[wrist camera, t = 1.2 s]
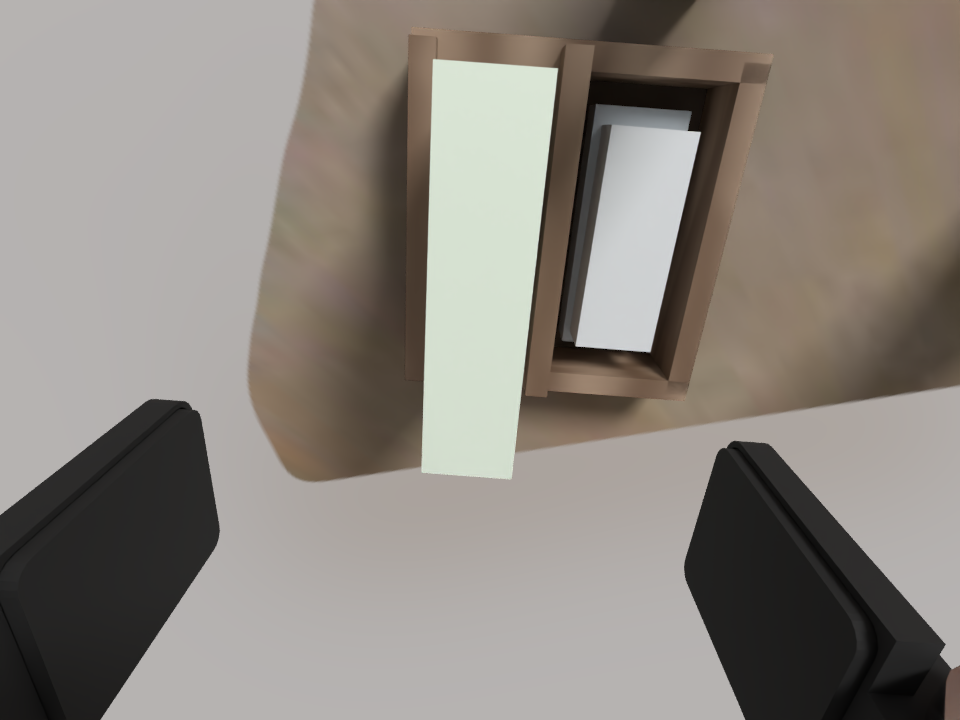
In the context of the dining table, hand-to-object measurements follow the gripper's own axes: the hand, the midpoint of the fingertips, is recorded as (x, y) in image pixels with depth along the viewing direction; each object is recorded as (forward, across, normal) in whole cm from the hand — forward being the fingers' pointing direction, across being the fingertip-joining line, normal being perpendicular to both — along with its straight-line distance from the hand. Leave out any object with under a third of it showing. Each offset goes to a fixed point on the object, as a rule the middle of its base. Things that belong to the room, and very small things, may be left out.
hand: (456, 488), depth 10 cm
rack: (+31, -5, 0) cm, 32 cm away
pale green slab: (+31, 0, 0) cm, 31 cm away
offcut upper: (+29, -10, 0) cm, 30 cm away
